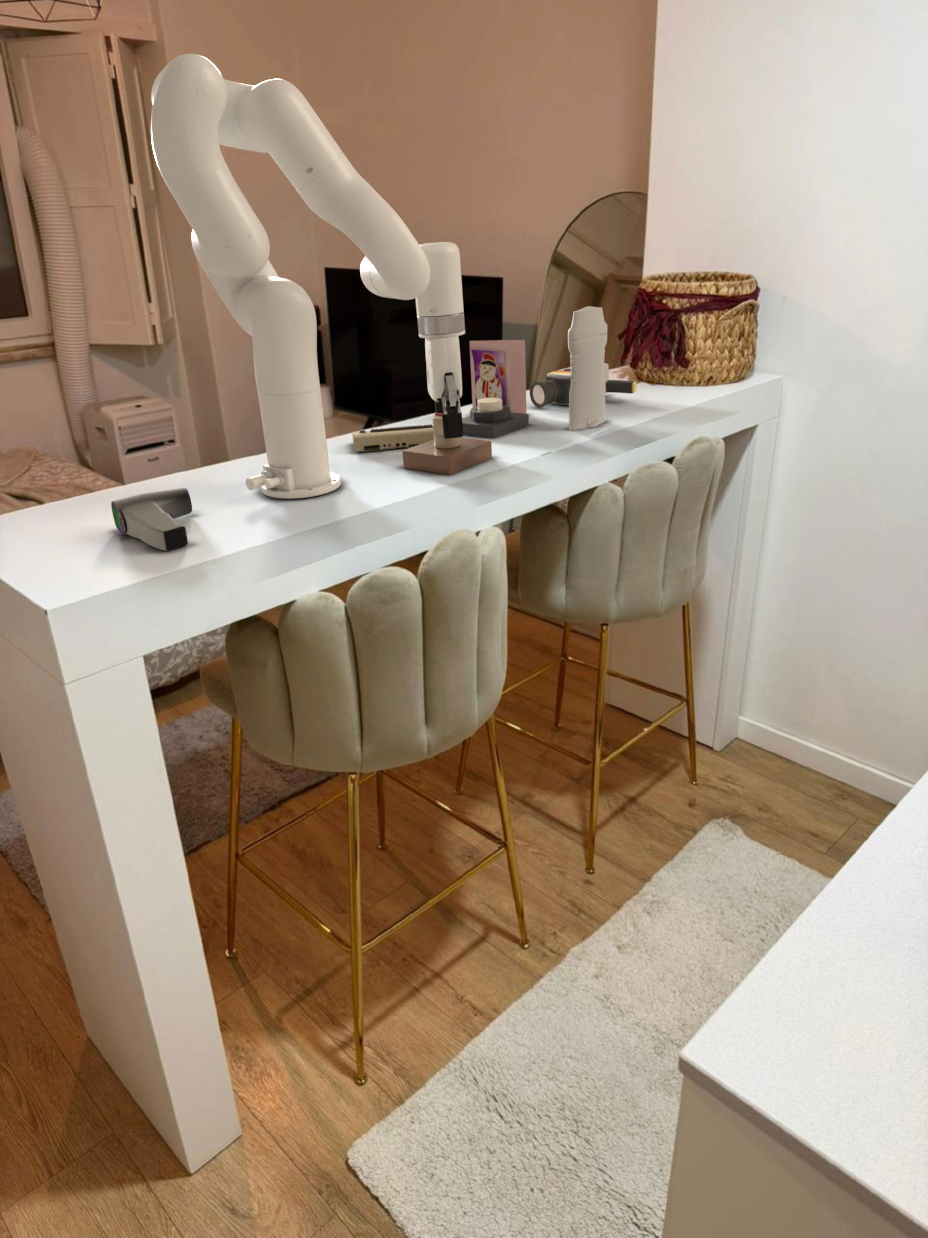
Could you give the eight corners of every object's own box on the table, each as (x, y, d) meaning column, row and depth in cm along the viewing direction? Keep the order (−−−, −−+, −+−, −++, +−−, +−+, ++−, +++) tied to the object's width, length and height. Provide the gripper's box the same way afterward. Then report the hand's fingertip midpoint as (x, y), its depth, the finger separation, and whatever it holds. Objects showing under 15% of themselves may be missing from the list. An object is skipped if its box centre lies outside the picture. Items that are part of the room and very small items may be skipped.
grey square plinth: (494, 438, 167) (493, 417, 165) (452, 433, 172) (450, 412, 170) (528, 425, 175) (528, 404, 173) (487, 420, 181) (486, 400, 179)
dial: (465, 443, 151) (463, 412, 149) (449, 449, 148) (447, 417, 146) (445, 441, 154) (443, 410, 151) (429, 446, 150) (427, 415, 148)
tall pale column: (576, 431, 168) (577, 309, 159) (560, 429, 171) (560, 308, 162) (613, 421, 174) (615, 303, 165) (597, 419, 177) (598, 302, 168)
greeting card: (469, 415, 186) (466, 341, 180) (495, 409, 190) (492, 336, 184) (508, 422, 178) (505, 345, 172) (533, 415, 183) (532, 340, 176)
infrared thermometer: (159, 560, 117) (109, 530, 127) (239, 535, 125) (186, 509, 134) (154, 527, 115) (103, 499, 125) (235, 504, 123) (181, 480, 132)
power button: (493, 414, 169) (492, 403, 168) (472, 411, 172) (472, 401, 171) (507, 409, 172) (506, 398, 172) (487, 407, 175) (486, 396, 174)
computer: (434, 436, 170) (433, 418, 169) (440, 445, 163) (439, 427, 162) (353, 443, 169) (351, 426, 167) (355, 453, 161) (353, 435, 160)
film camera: (574, 420, 181) (528, 408, 192) (642, 400, 190) (594, 390, 201) (574, 386, 178) (526, 375, 189) (642, 367, 187) (594, 359, 198)
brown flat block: (450, 475, 145) (449, 457, 144) (403, 467, 151) (402, 450, 149) (492, 458, 153) (491, 440, 152) (446, 451, 159) (445, 435, 158)
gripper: (413, 321, 150) (422, 422, 157) (423, 334, 134) (433, 445, 142) (457, 317, 151) (464, 417, 158) (472, 329, 135) (479, 440, 143)
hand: (449, 430), depth 150 cm, fingers open, 9 cm apart
